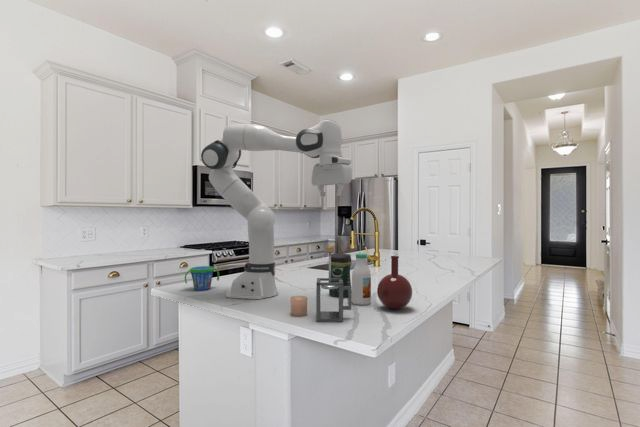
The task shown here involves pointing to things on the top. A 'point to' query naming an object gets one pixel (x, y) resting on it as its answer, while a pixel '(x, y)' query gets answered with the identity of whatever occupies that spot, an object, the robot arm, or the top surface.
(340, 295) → the frame
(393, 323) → the top surface
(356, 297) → the milk bottle
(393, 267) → the round-bottom flask
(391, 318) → the top surface
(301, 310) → the wooden block
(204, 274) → the snack cup
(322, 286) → the plunger
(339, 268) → the coffee jar
